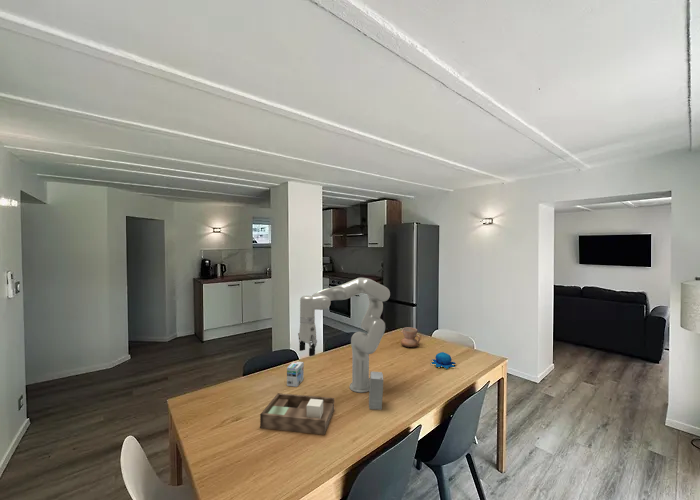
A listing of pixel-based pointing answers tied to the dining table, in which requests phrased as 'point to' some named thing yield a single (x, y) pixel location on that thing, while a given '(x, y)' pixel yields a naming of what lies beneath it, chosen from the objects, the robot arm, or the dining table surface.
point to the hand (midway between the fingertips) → (307, 352)
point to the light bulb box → (295, 373)
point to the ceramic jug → (410, 337)
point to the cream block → (315, 408)
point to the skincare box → (376, 390)
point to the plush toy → (443, 360)
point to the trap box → (296, 414)
